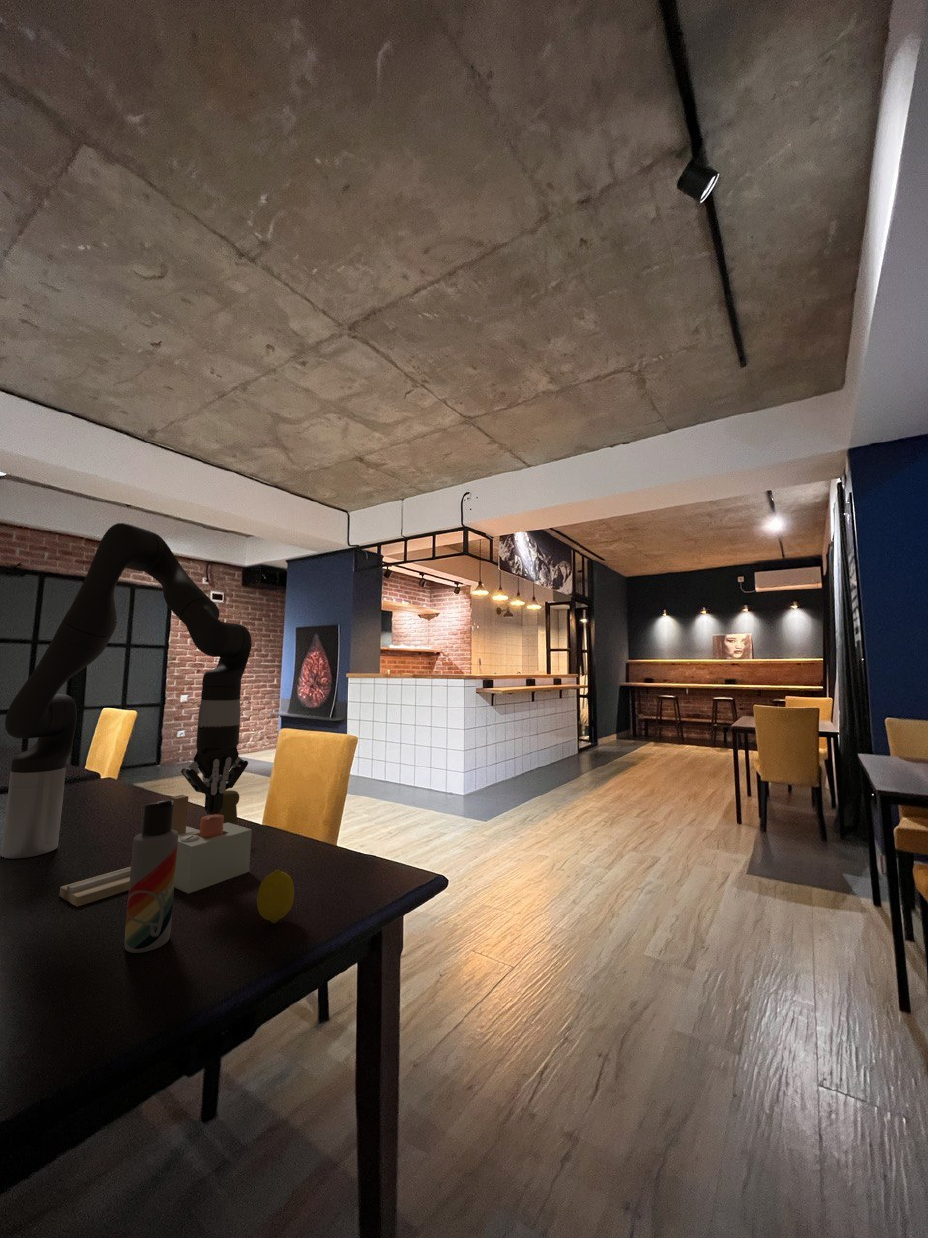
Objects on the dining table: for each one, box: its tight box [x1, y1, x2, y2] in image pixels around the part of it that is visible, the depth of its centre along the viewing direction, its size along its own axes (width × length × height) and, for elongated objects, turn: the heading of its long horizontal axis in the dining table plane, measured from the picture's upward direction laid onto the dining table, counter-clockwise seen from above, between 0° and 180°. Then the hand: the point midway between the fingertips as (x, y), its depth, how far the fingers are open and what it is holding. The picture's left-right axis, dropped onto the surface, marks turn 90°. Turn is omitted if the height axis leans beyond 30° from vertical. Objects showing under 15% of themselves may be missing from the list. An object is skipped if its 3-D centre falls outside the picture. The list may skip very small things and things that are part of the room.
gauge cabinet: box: [174, 823, 253, 895], centre depth 96 cm, size 8×12×8 cm, turn 148°
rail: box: [58, 866, 131, 907], centre depth 95 cm, size 7×25×4 cm, turn 148°
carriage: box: [169, 794, 198, 835], centre depth 100 cm, size 6×7×11 cm
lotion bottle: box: [123, 799, 178, 954], centre depth 73 cm, size 6×6×20 cm
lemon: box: [256, 869, 295, 924], centre depth 79 cm, size 6×6×8 cm
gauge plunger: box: [199, 814, 224, 839], centre depth 96 cm, size 4×4×6 cm
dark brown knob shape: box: [215, 789, 240, 826], centre depth 116 cm, size 6×6×11 cm
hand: (213, 813), depth 96 cm, fingers closed
